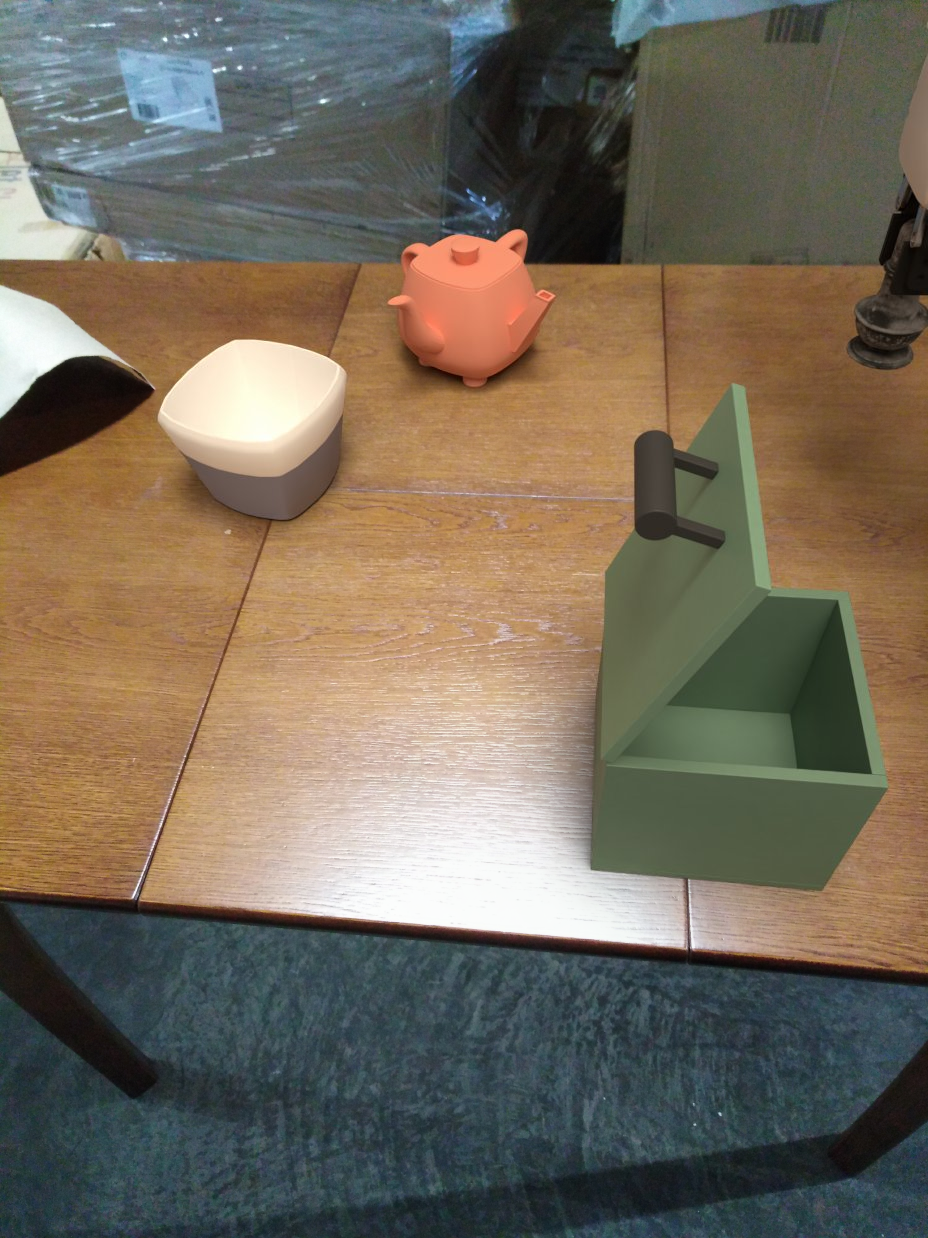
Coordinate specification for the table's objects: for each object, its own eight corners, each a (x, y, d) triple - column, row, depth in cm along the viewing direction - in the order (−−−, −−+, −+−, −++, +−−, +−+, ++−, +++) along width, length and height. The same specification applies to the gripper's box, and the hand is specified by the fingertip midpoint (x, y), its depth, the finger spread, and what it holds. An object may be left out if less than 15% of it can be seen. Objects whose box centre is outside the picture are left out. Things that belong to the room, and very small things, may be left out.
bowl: (169, 508, 88) (131, 417, 80) (255, 418, 97) (229, 326, 88) (301, 551, 84) (276, 459, 75) (379, 452, 92) (365, 359, 84)
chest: (796, 712, 70) (848, 591, 59) (822, 891, 61) (889, 787, 50) (595, 698, 72) (609, 577, 61) (590, 870, 62) (605, 765, 51)
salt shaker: (915, 335, 76) (968, 192, 67) (918, 375, 72) (974, 229, 63) (842, 329, 77) (884, 187, 68) (842, 367, 74) (886, 223, 64)
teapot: (555, 388, 98) (558, 273, 87) (401, 410, 97) (387, 296, 86) (525, 310, 108) (525, 198, 98) (386, 329, 107) (371, 218, 97)
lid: (745, 386, 48) (654, 354, 47) (772, 590, 39) (661, 555, 38) (615, 575, 60) (542, 552, 59) (613, 763, 51) (526, 740, 50)
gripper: (1108, 47, 50) (982, 338, 64) (1023, -37, 61) (931, 228, 75) (966, 50, 51) (873, 336, 65) (908, -33, 62) (838, 228, 76)
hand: (905, 276), depth 70 cm, fingers closed on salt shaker, 3 cm apart
